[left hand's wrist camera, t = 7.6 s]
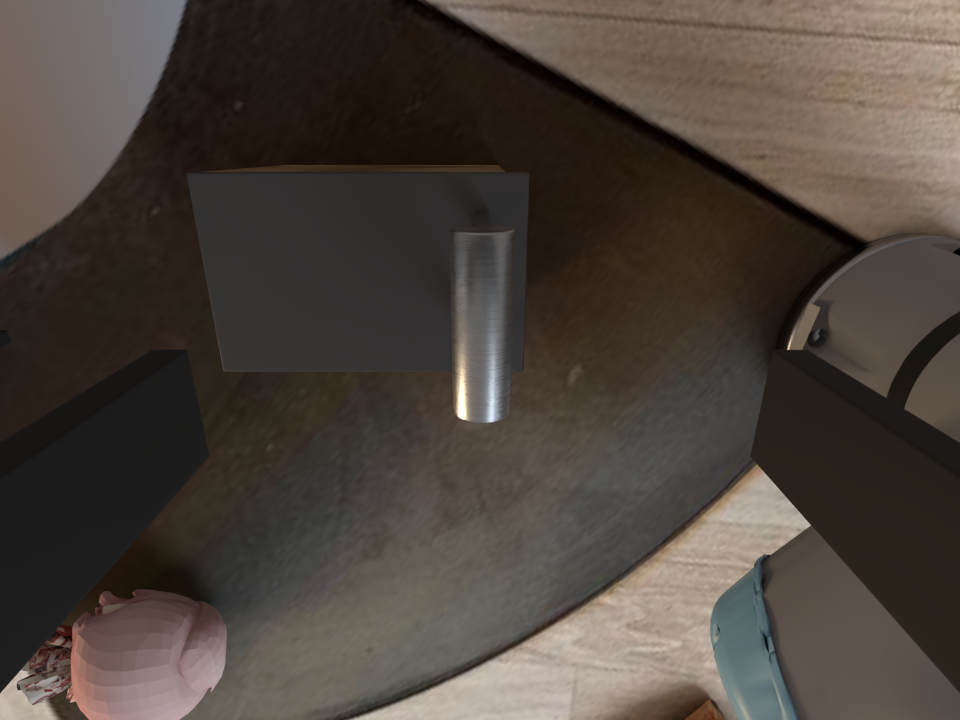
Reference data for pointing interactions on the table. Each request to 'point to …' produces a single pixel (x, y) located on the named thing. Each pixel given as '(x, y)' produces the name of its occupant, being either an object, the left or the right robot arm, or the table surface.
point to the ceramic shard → (707, 712)
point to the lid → (370, 274)
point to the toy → (132, 658)
